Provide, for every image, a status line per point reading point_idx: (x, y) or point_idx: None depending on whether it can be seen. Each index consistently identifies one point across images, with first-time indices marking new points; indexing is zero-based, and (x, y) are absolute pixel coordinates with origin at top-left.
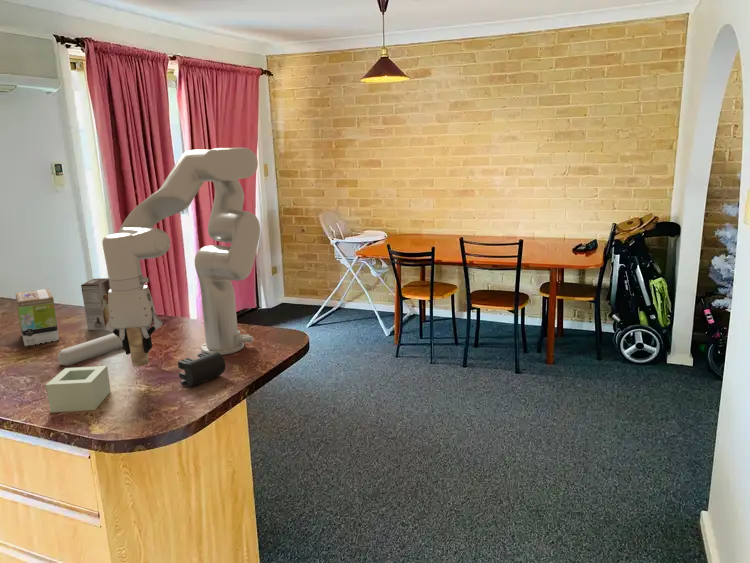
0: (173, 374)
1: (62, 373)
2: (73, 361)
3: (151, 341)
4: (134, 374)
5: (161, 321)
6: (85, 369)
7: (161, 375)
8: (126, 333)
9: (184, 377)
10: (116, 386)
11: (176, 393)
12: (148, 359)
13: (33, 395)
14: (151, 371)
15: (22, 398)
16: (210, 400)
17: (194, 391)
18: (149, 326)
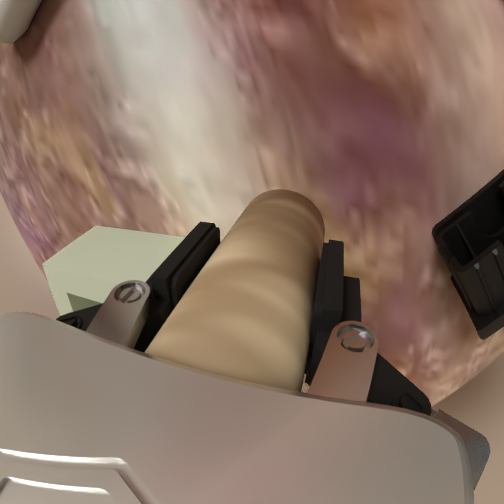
0: (400, 128)
1: (62, 305)
2: (26, 22)
3: (359, 300)
4: (230, 87)
5: (479, 467)
6: (99, 298)
7: (352, 123)
8: (142, 319)
9: (453, 276)
10: (199, 196)
11: (412, 303)
12: (323, 239)
13: (37, 213)
14: (296, 66)
15: (31, 225)
16: (476, 354)
17: (459, 302)
18: (363, 401)
